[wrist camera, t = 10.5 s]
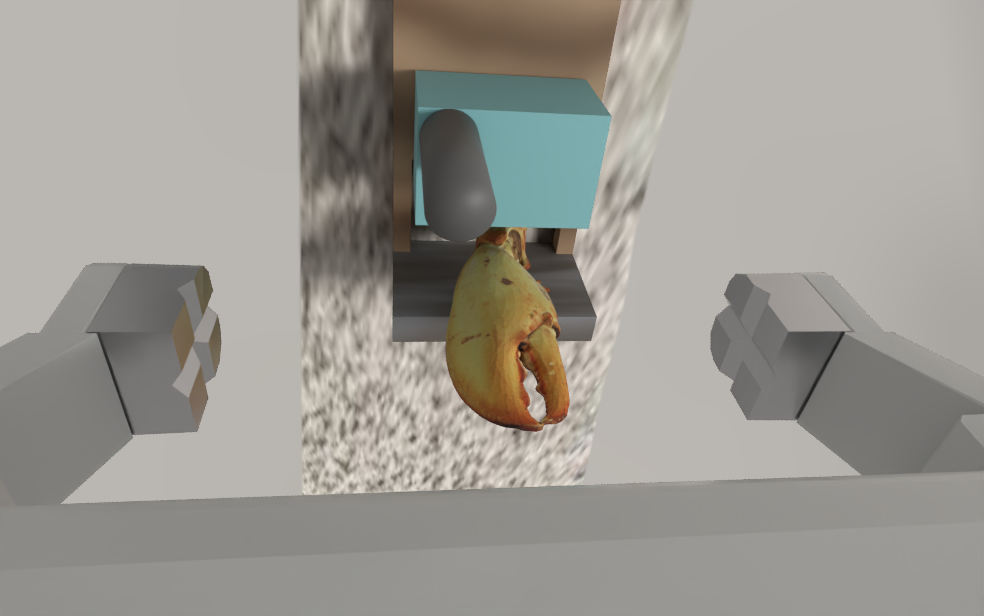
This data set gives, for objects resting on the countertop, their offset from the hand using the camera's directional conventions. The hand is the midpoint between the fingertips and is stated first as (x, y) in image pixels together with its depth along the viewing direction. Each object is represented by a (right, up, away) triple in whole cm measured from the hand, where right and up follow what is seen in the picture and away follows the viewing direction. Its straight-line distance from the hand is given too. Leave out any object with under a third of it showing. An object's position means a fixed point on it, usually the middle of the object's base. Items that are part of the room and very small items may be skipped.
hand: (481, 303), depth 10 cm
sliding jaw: (0, +11, +31) cm, 33 cm away
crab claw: (0, +7, +36) cm, 37 cm away
